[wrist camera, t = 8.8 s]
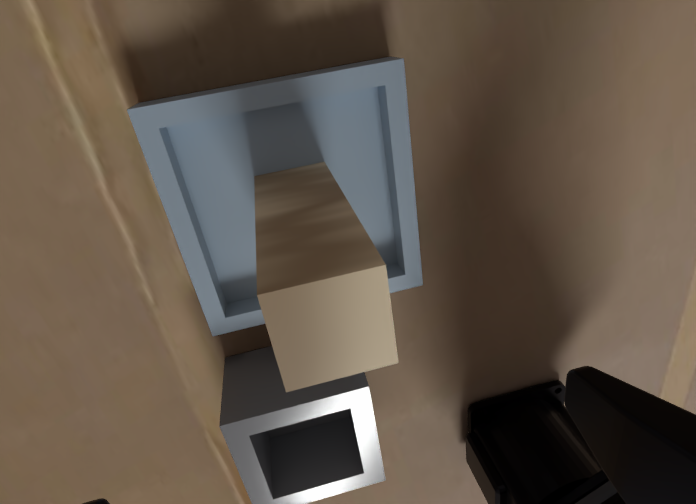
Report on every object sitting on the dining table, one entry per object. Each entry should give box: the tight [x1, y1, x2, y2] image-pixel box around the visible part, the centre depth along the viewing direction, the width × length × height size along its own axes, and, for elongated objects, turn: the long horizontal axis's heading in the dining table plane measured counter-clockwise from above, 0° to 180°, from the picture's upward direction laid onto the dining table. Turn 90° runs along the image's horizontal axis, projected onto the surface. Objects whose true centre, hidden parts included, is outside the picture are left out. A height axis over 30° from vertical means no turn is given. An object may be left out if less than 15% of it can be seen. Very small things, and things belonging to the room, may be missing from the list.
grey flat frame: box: [127, 57, 423, 336], centre depth 19 cm, size 10×10×2 cm
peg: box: [254, 162, 398, 392], centre depth 15 cm, size 3×3×10 cm
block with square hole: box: [220, 346, 385, 504], centre depth 22 cm, size 7×7×4 cm
